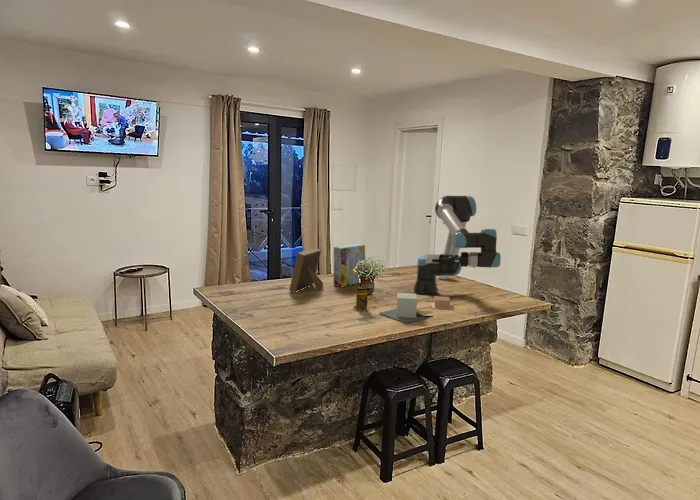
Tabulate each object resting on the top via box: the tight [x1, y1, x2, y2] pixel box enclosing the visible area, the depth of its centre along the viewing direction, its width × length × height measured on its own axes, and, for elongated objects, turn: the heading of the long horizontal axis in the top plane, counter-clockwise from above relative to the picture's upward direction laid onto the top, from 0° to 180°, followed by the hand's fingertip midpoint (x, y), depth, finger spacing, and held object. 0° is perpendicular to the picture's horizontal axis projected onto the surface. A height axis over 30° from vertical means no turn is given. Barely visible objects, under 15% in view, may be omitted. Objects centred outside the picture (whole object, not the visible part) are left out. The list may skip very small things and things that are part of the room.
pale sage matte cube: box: [396, 292, 418, 318], centre depth 241 cm, size 10×10×10 cm
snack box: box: [333, 243, 366, 288], centre depth 305 cm, size 22×9×26 cm, turn 133°
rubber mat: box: [378, 308, 434, 325], centre depth 242 cm, size 20×20×1 cm
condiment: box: [350, 286, 370, 312], centre depth 252 cm, size 7×8×12 cm
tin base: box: [430, 295, 454, 310], centre depth 257 cm, size 11×11×6 cm
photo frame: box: [288, 247, 324, 293], centre depth 287 cm, size 15×22×25 cm
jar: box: [436, 276, 450, 280], centre depth 329 cm, size 9×8×12 cm
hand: (426, 258), depth 240 cm, fingers open, 13 cm apart
